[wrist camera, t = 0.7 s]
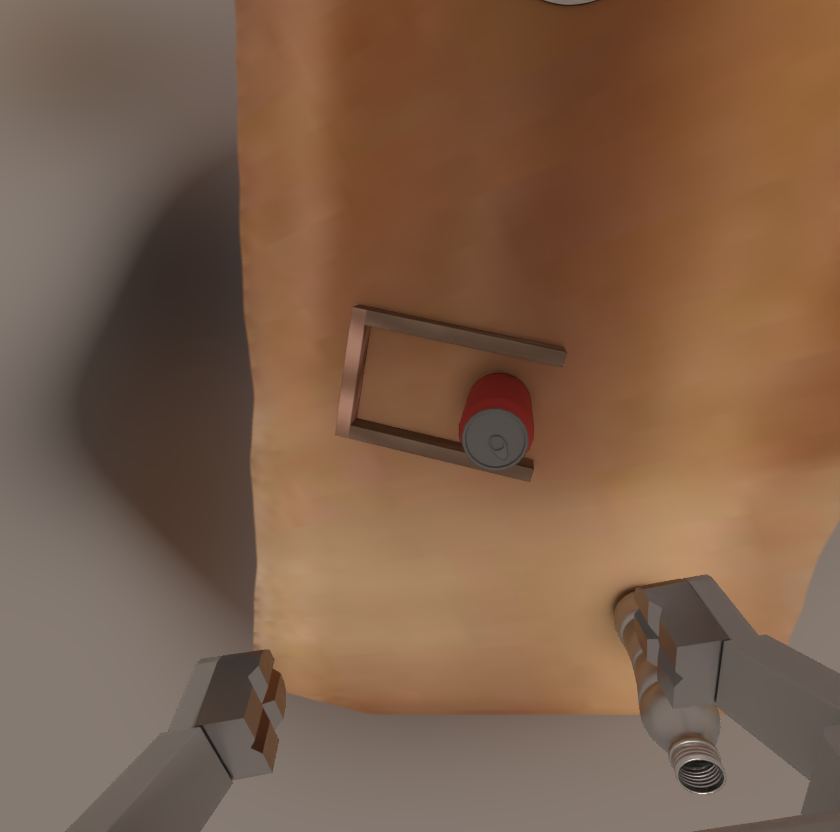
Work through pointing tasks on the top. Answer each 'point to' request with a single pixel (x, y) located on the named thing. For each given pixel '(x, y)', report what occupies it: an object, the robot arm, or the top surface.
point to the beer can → (497, 422)
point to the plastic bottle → (673, 716)
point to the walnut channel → (437, 331)
